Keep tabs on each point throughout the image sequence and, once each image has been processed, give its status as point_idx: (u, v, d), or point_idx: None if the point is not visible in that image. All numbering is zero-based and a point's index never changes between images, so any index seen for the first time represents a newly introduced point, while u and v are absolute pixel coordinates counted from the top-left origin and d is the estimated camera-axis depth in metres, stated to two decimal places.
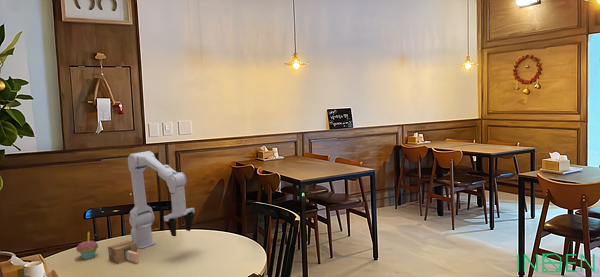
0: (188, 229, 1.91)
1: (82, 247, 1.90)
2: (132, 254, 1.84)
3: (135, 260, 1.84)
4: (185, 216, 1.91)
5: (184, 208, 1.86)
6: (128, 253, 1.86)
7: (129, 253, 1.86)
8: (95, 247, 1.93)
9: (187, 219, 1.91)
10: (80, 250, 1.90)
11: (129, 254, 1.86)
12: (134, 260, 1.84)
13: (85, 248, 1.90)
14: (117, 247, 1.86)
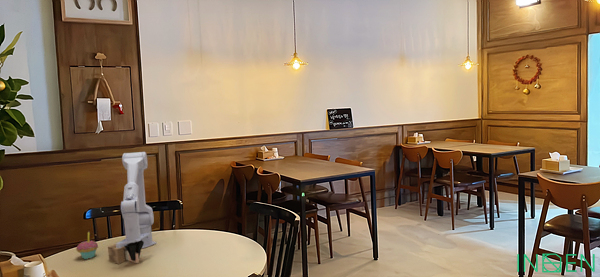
0: None
1: (82, 247, 1.90)
2: None
3: (135, 260, 1.84)
4: (134, 244, 1.85)
5: (138, 234, 1.82)
6: (128, 253, 1.86)
7: None
8: (95, 247, 1.93)
9: (136, 247, 1.85)
10: (80, 250, 1.90)
11: None
12: None
13: (85, 248, 1.90)
14: None
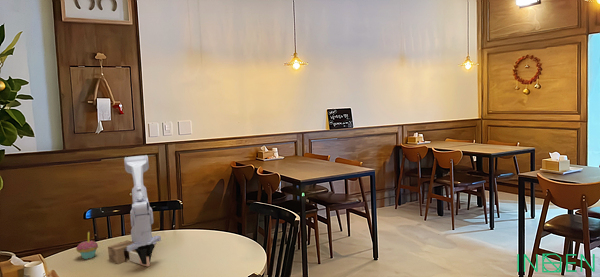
0: None
1: (82, 247, 1.90)
2: None
3: (146, 264, 1.79)
4: (144, 247, 1.81)
5: (149, 237, 1.78)
6: (138, 256, 1.82)
7: None
8: (95, 247, 1.93)
9: (146, 250, 1.80)
10: (80, 250, 1.90)
11: (139, 257, 1.81)
12: (145, 264, 1.80)
13: (85, 248, 1.90)
14: (117, 247, 1.86)
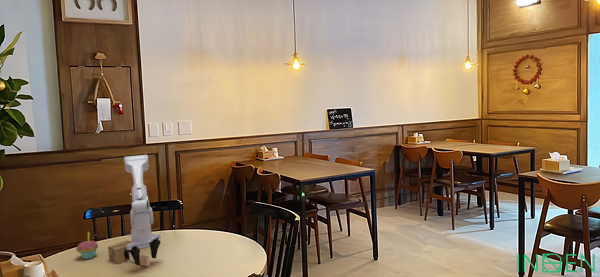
0: (154, 256, 1.83)
1: (82, 247, 1.90)
2: (143, 257, 1.80)
3: (146, 264, 1.79)
4: (150, 243, 1.83)
5: (148, 235, 1.78)
6: None
7: None
8: (95, 247, 1.93)
9: (152, 246, 1.82)
10: (80, 250, 1.90)
11: None
12: (145, 264, 1.80)
13: (85, 248, 1.90)
14: (117, 247, 1.86)
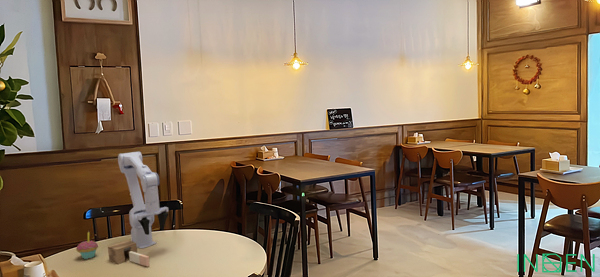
0: (162, 228, 1.95)
1: (82, 247, 1.90)
2: (143, 257, 1.80)
3: (146, 264, 1.79)
4: (159, 215, 1.96)
5: (157, 207, 1.91)
6: (138, 256, 1.82)
7: (139, 256, 1.81)
8: (95, 247, 1.93)
9: (161, 218, 1.95)
10: (80, 250, 1.90)
11: (139, 257, 1.81)
12: (145, 264, 1.80)
13: (85, 248, 1.90)
14: (117, 247, 1.86)
